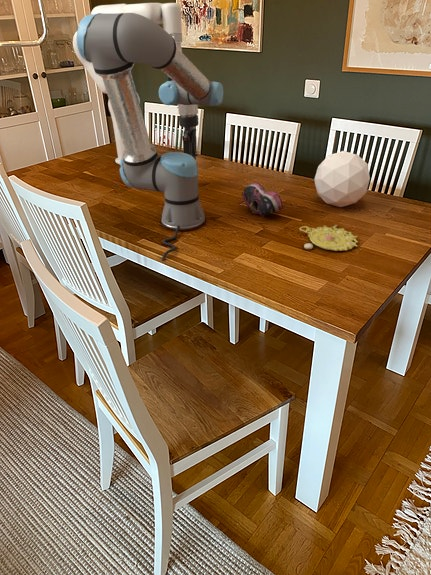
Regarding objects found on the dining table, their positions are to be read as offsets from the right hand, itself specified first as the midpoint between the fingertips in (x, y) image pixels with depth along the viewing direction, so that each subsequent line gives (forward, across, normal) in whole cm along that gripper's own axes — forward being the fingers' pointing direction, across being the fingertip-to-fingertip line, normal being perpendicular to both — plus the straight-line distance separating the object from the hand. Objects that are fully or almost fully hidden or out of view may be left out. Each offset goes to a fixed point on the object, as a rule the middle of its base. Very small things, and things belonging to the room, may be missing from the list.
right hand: (191, 174), depth 183 cm
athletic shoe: (+6, +22, +30) cm, 38 cm away
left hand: (-31, -26, -12) cm, 42 cm away
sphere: (+6, +11, +59) cm, 61 cm away
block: (0, 0, 0) cm, 0 cm away
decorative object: (+6, +42, +55) cm, 70 cm away
